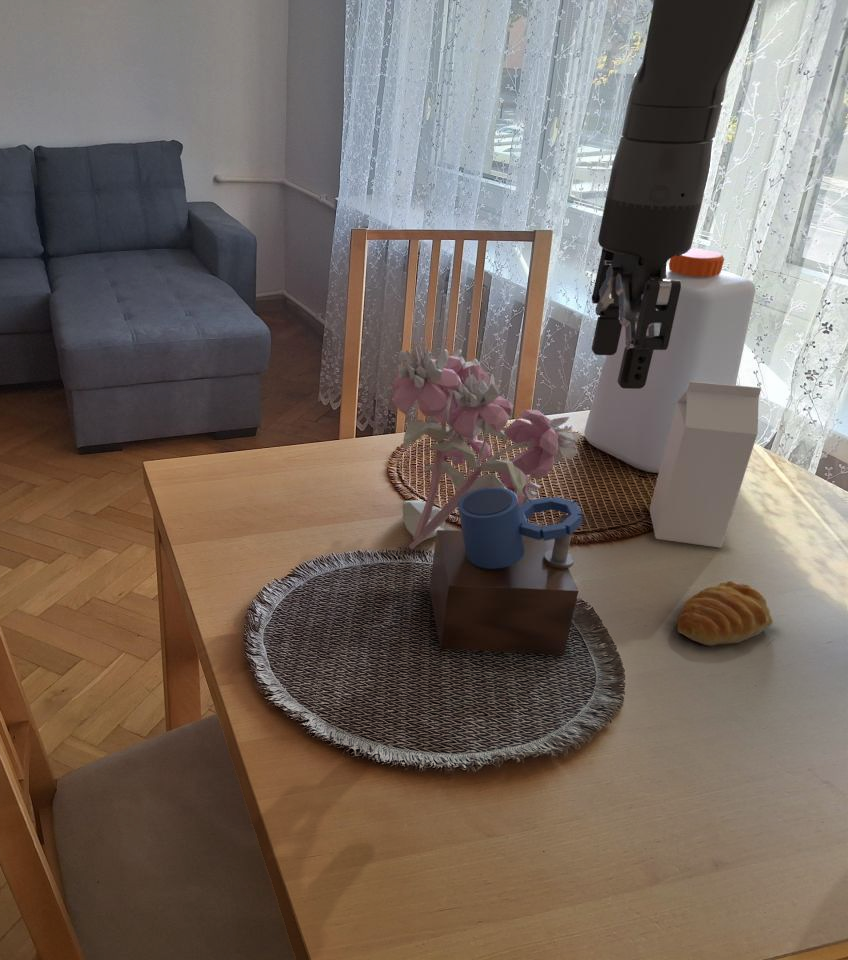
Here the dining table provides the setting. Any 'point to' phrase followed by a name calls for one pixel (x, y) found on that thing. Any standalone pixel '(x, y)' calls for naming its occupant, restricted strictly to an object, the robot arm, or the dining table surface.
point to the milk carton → (704, 462)
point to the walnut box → (503, 598)
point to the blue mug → (508, 525)
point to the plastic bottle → (674, 361)
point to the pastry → (724, 615)
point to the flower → (471, 434)
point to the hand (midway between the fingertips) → (616, 369)
